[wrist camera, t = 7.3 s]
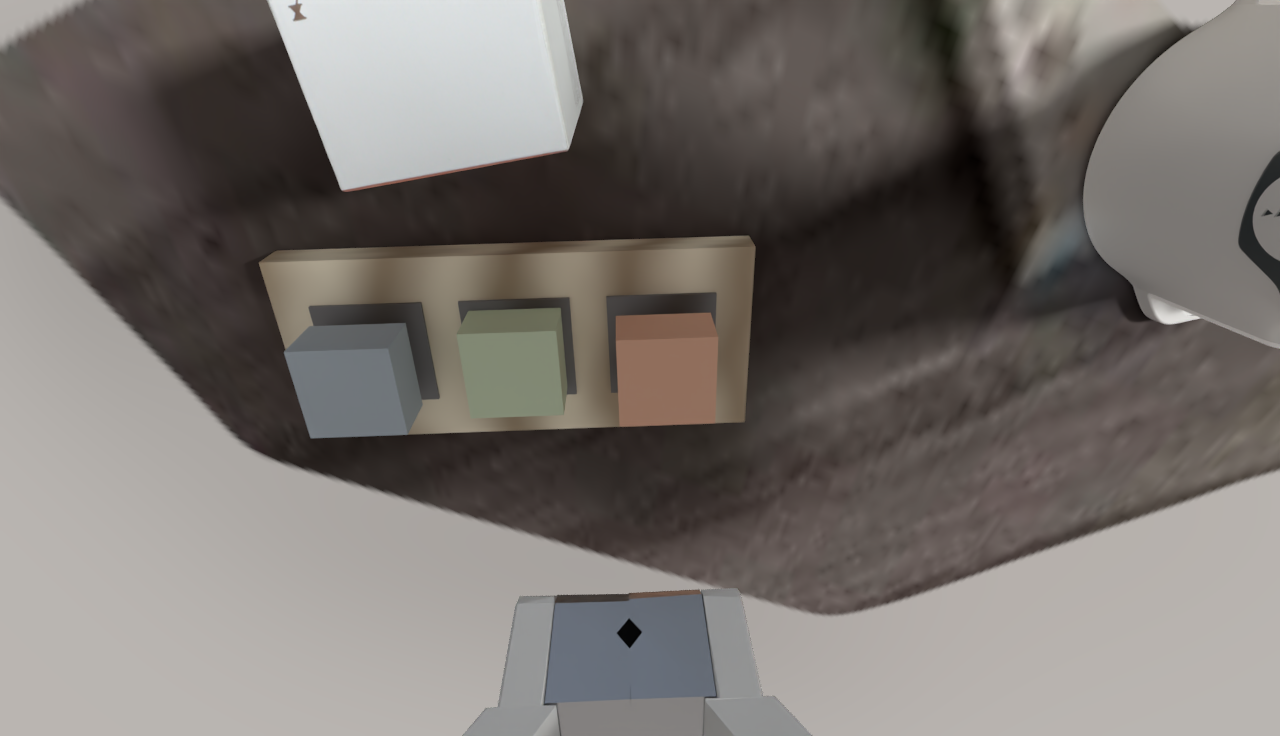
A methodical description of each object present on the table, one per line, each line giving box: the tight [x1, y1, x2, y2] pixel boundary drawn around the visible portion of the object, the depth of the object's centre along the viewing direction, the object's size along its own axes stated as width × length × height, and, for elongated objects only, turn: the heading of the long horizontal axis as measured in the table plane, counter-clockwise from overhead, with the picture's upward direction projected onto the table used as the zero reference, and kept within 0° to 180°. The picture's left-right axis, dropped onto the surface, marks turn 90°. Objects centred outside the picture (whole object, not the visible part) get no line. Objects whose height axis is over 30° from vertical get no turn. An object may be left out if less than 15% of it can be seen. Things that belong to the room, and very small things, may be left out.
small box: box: [267, 0, 583, 192], centre depth 26 cm, size 8×6×13 cm
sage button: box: [456, 308, 568, 418], centre depth 36 cm, size 5×5×3 cm
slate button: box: [284, 323, 423, 438], centre depth 34 cm, size 5×5×3 cm
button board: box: [259, 235, 755, 435], centre depth 38 cm, size 26×11×2 cm, turn 91°
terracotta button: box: [616, 313, 718, 427], centre depth 34 cm, size 5×5×3 cm
